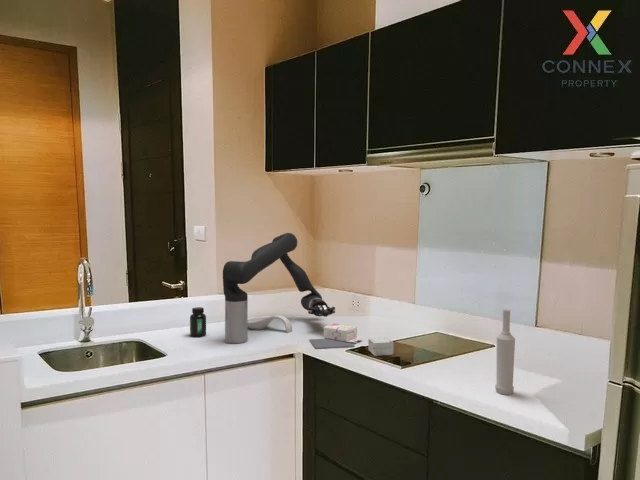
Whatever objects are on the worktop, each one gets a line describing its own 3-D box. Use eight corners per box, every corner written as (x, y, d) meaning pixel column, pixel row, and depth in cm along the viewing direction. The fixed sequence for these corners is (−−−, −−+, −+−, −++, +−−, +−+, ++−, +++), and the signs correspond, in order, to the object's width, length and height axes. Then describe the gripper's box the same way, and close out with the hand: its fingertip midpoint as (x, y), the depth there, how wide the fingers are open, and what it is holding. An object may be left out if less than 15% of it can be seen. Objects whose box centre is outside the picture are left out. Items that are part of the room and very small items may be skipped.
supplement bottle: (203, 337, 208) (202, 309, 208) (187, 337, 209) (187, 309, 208) (208, 333, 215) (208, 306, 215) (193, 333, 216) (193, 306, 215)
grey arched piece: (238, 329, 224) (238, 314, 224) (252, 324, 235) (252, 309, 235) (284, 335, 214) (284, 319, 214) (296, 329, 225) (296, 314, 225)
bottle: (510, 389, 149) (512, 308, 148) (516, 395, 144) (518, 311, 143) (493, 388, 150) (495, 308, 148) (498, 394, 145) (500, 311, 143)
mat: (315, 349, 192) (315, 347, 192) (309, 340, 205) (309, 339, 205) (354, 347, 195) (354, 345, 195) (346, 338, 208) (346, 337, 208)
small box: (367, 350, 191) (368, 337, 191) (386, 349, 193) (387, 336, 193) (374, 356, 184) (374, 342, 183) (393, 355, 185) (394, 341, 185)
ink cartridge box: (334, 323, 214) (363, 327, 205) (334, 334, 214) (363, 339, 205) (323, 326, 207) (352, 331, 198) (323, 338, 207) (352, 343, 199)
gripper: (304, 299, 225) (310, 306, 209) (331, 298, 228) (340, 305, 211) (303, 315, 226) (310, 323, 209) (331, 314, 229) (340, 322, 212)
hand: (325, 314), depth 210 cm, fingers closed
